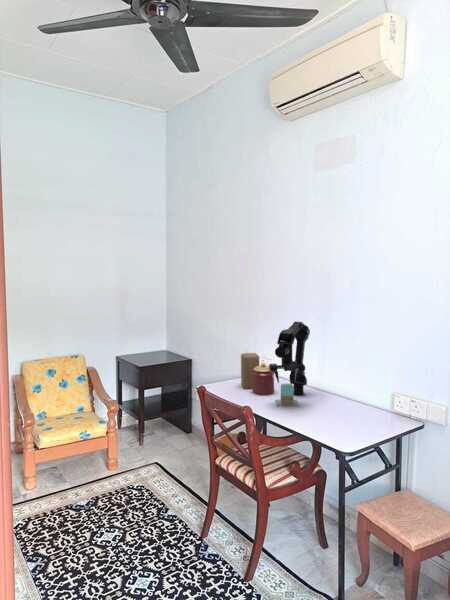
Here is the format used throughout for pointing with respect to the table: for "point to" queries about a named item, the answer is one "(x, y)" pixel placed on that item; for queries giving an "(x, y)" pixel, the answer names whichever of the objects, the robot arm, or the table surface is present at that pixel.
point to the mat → (279, 404)
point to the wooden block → (248, 368)
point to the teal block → (287, 389)
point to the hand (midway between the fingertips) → (286, 382)
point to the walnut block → (286, 400)
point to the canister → (263, 380)
